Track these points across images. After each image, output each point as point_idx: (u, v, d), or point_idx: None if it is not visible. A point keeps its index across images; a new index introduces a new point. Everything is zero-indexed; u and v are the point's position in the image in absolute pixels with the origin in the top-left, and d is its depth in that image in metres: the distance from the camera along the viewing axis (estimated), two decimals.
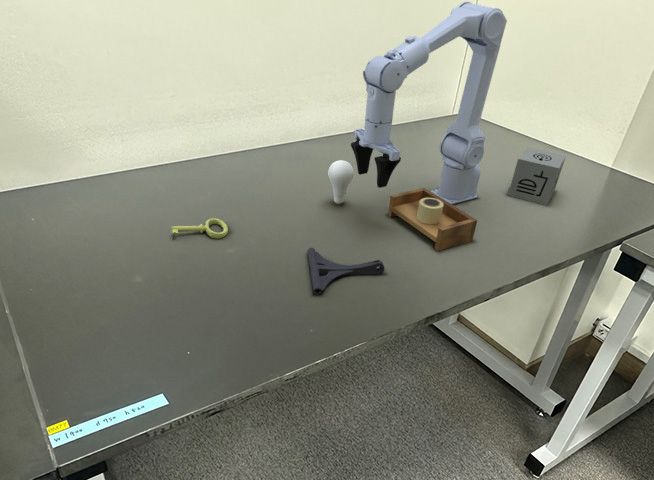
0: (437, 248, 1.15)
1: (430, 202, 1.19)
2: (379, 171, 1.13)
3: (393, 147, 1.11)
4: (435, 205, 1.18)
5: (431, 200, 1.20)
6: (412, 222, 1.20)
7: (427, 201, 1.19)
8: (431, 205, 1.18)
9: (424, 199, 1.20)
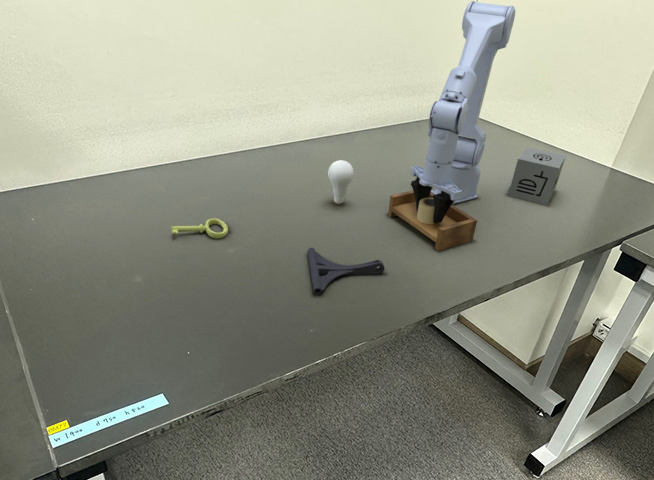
0: (437, 248, 1.15)
1: (430, 202, 1.19)
2: (437, 208, 1.15)
3: (454, 186, 1.13)
4: None
5: (431, 200, 1.19)
6: (412, 222, 1.20)
7: (427, 201, 1.19)
8: (431, 205, 1.18)
9: (424, 199, 1.20)
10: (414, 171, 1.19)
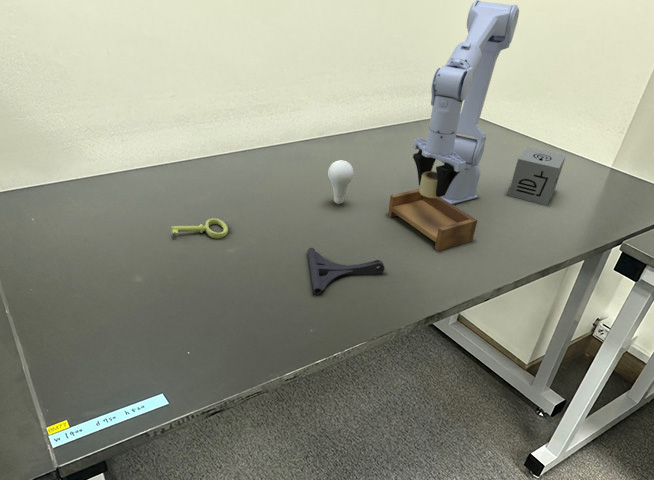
0: (437, 248, 1.15)
1: (433, 175, 1.15)
2: (440, 180, 1.12)
3: (458, 158, 1.09)
4: None
5: (434, 173, 1.16)
6: (412, 222, 1.20)
7: (430, 174, 1.16)
8: (434, 178, 1.14)
9: (427, 172, 1.17)
10: (416, 143, 1.16)
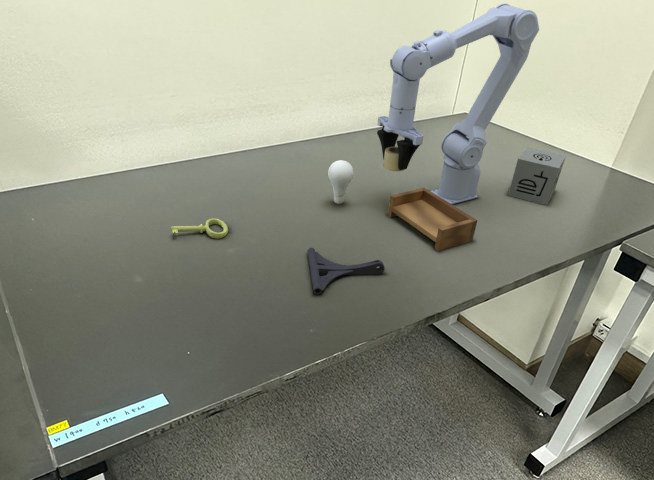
0: (437, 248, 1.15)
1: (395, 150, 1.24)
2: (401, 154, 1.21)
3: (416, 132, 1.18)
4: None
5: (396, 148, 1.25)
6: (412, 222, 1.20)
7: (392, 149, 1.25)
8: (395, 152, 1.23)
9: (390, 148, 1.25)
10: (380, 120, 1.25)
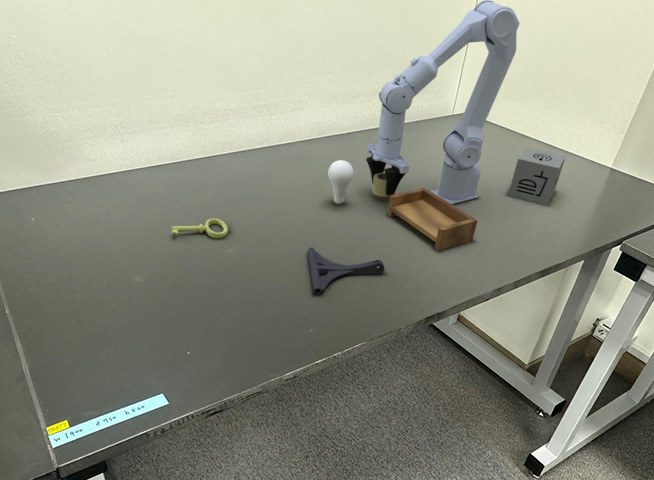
0: (437, 248, 1.15)
1: (383, 176, 1.31)
2: (388, 181, 1.27)
3: (403, 161, 1.25)
4: None
5: (385, 175, 1.32)
6: (412, 222, 1.20)
7: (381, 175, 1.31)
8: (383, 179, 1.30)
9: (378, 174, 1.32)
10: (369, 148, 1.32)
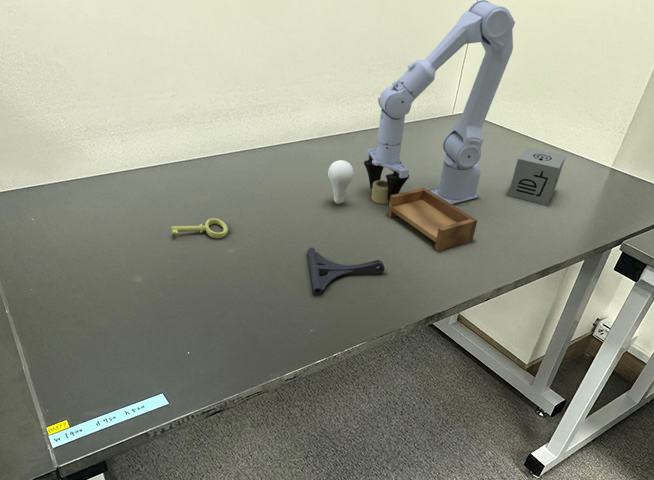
0: (437, 248, 1.15)
1: (382, 183, 1.32)
2: (390, 187, 1.28)
3: (402, 166, 1.26)
4: (386, 186, 1.31)
5: (384, 182, 1.33)
6: (412, 222, 1.20)
7: (380, 183, 1.32)
8: (382, 186, 1.31)
9: (377, 181, 1.33)
10: (369, 153, 1.32)
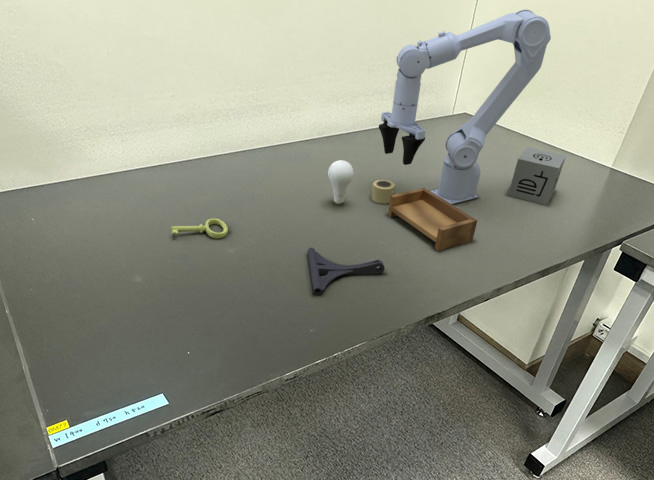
0: (437, 248, 1.15)
1: (382, 183, 1.32)
2: (405, 149, 1.26)
3: (418, 127, 1.24)
4: (386, 186, 1.31)
5: (384, 182, 1.33)
6: (412, 222, 1.20)
7: (380, 183, 1.32)
8: (382, 186, 1.31)
9: (377, 181, 1.33)
10: (384, 116, 1.30)
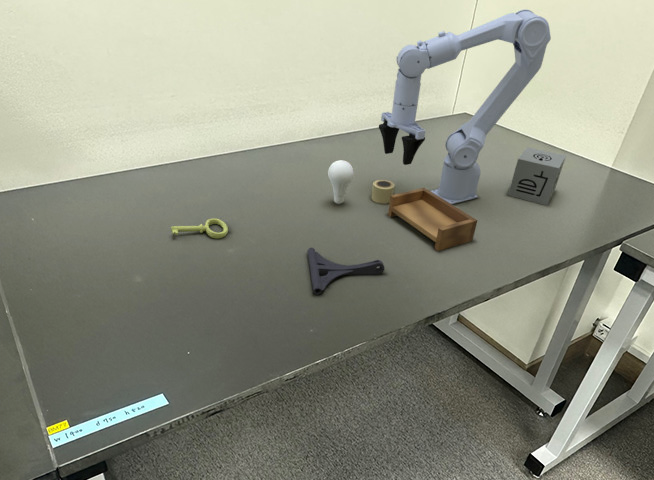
0: (437, 248, 1.15)
1: (382, 183, 1.32)
2: (405, 149, 1.26)
3: (418, 127, 1.24)
4: (386, 186, 1.31)
5: (384, 182, 1.33)
6: (412, 222, 1.20)
7: (380, 183, 1.32)
8: (382, 186, 1.31)
9: (377, 181, 1.33)
10: (384, 116, 1.30)
